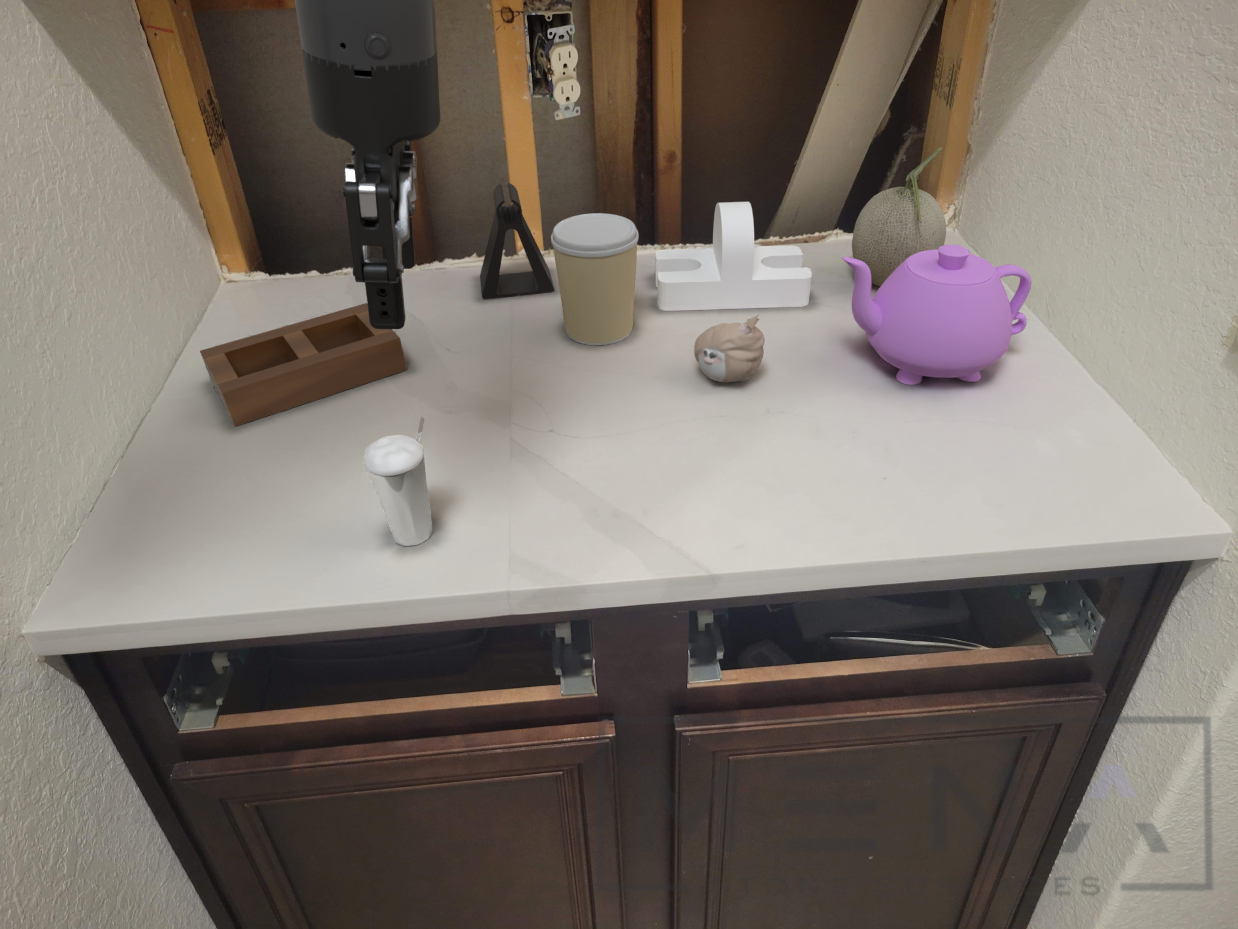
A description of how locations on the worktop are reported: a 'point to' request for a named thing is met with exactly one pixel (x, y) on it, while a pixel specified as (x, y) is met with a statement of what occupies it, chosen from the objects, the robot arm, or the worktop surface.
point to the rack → (301, 363)
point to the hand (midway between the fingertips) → (394, 295)
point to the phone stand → (490, 271)
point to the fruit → (898, 227)
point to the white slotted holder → (732, 269)
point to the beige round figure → (730, 351)
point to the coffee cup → (596, 276)
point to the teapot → (940, 313)
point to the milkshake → (401, 485)
